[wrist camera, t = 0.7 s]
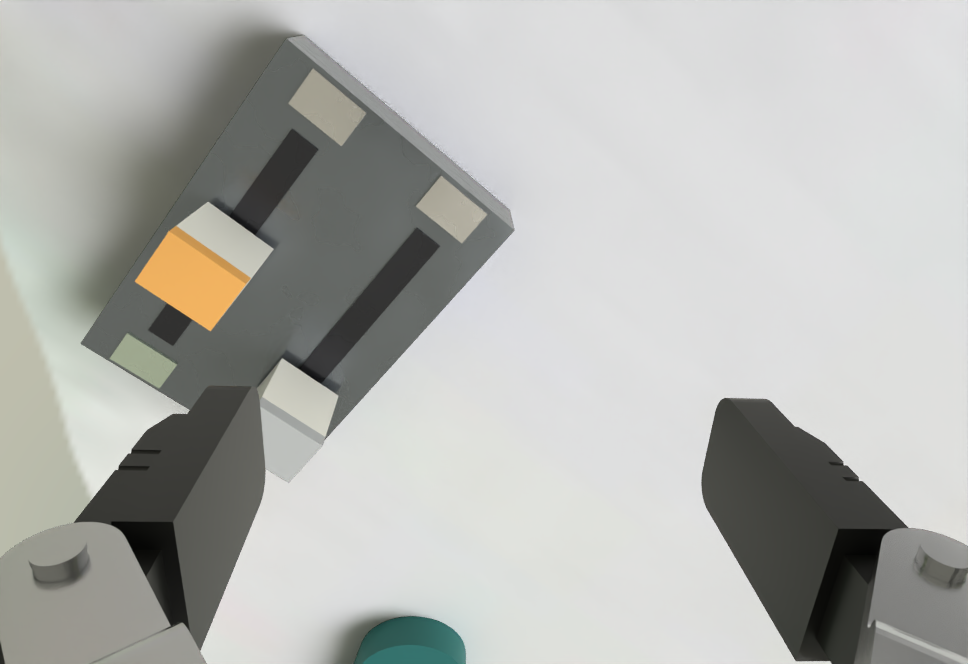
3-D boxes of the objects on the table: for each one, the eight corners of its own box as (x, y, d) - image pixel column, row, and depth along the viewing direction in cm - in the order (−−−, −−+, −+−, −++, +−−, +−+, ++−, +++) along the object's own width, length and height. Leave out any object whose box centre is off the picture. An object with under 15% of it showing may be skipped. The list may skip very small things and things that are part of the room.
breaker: (281, 358, 29) (257, 405, 25) (338, 395, 30) (322, 445, 26) (252, 394, 30) (224, 444, 26) (308, 430, 30) (288, 483, 27)
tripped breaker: (207, 201, 26) (169, 231, 22) (273, 249, 27) (246, 284, 23) (177, 246, 26) (134, 281, 23) (241, 291, 27) (210, 331, 24)
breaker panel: (304, 35, 26) (285, 38, 24) (510, 210, 30) (514, 230, 27) (113, 314, 31) (79, 344, 29) (307, 437, 35) (294, 474, 32)
